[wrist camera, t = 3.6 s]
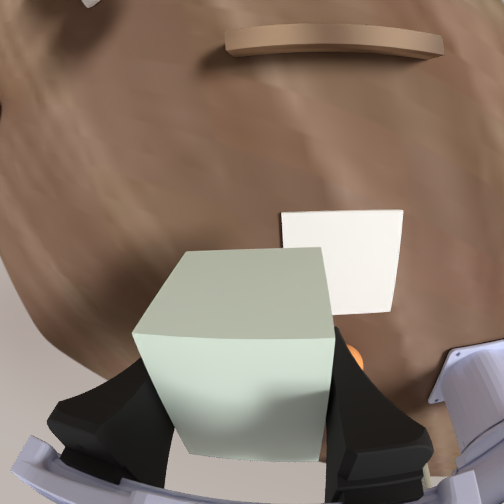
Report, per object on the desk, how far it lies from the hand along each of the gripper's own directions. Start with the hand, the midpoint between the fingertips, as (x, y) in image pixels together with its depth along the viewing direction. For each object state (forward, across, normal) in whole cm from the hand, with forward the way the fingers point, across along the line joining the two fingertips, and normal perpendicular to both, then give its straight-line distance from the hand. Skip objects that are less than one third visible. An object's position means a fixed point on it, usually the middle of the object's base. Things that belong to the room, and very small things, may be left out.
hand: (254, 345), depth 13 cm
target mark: (+9, -5, +1) cm, 10 cm away
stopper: (+9, -5, -14) cm, 17 cm away
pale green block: (+2, 0, 0) cm, 2 cm away
